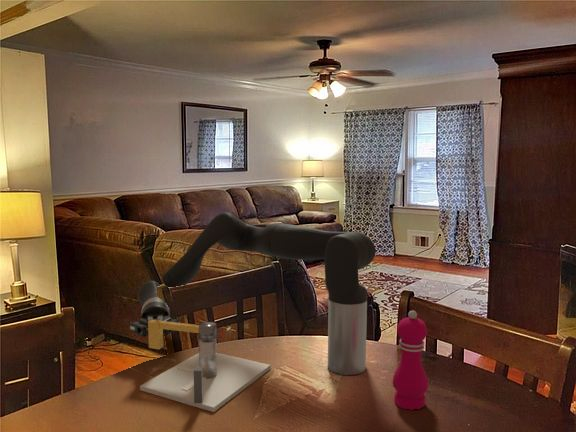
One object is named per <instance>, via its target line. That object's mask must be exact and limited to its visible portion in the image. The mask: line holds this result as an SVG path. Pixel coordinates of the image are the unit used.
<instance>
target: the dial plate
mask: <svg viewBox="0 0 576 432" xmlns="http://www.w3.org/2000/svg"><path fill="white" fill-rule="evenodd" d="M271 369H272V368H271V364H268V363H263V362H259V361H255V360H251V359H247V358H242V357H238V356H233V355H229V354H225V353H220V352H217V376H216V377H214V378H211V379H206V378H203V367H199V352H198V353H196V354H194V355H192V356H190V357H188V358H186V359H185V360H184V361H181V362H180V363H178V364H176V365H174V366H173V367H171V368H169V369H167V370H166V371H164V372H162V373H160V374H158V375H157V376H155V377H153V378H151V379H150V380H147V381H146V382H144V383H142V384H141V385H139V391H142V392H144V393H145V392H146V393H149V394H152V395H156V396H159V397H161V398H165V399H168V400H172V401H175V402H179V403H182V404H185V405H187V406H191V407H196V408H198V409H202V410H205V411H209V412H211V413H215V412H216V411H217V410H218V409H220V408H221V407H223V406H224V405H225V404H226V402H227V403H228V402H229V401H230V400H232V399H233V398H234V397H236V396H238V394H240V393H241V392H242V391H243V390H244V391H245V389H246V388H247V387H249V386H250V385H252V384H253V383H255V382H256V380H258V379H259V378H260V377H262V376H264V374H266V373H267V372H269V371H270V370H271Z"/></svg>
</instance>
